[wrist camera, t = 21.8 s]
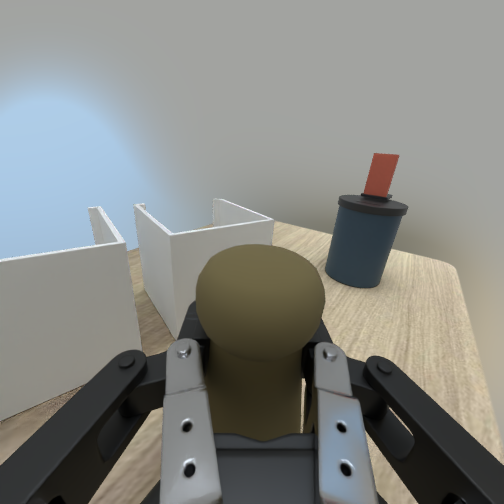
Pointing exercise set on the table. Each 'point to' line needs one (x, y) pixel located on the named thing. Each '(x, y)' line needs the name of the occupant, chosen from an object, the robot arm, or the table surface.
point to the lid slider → (380, 176)
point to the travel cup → (363, 239)
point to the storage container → (101, 298)
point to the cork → (257, 336)
